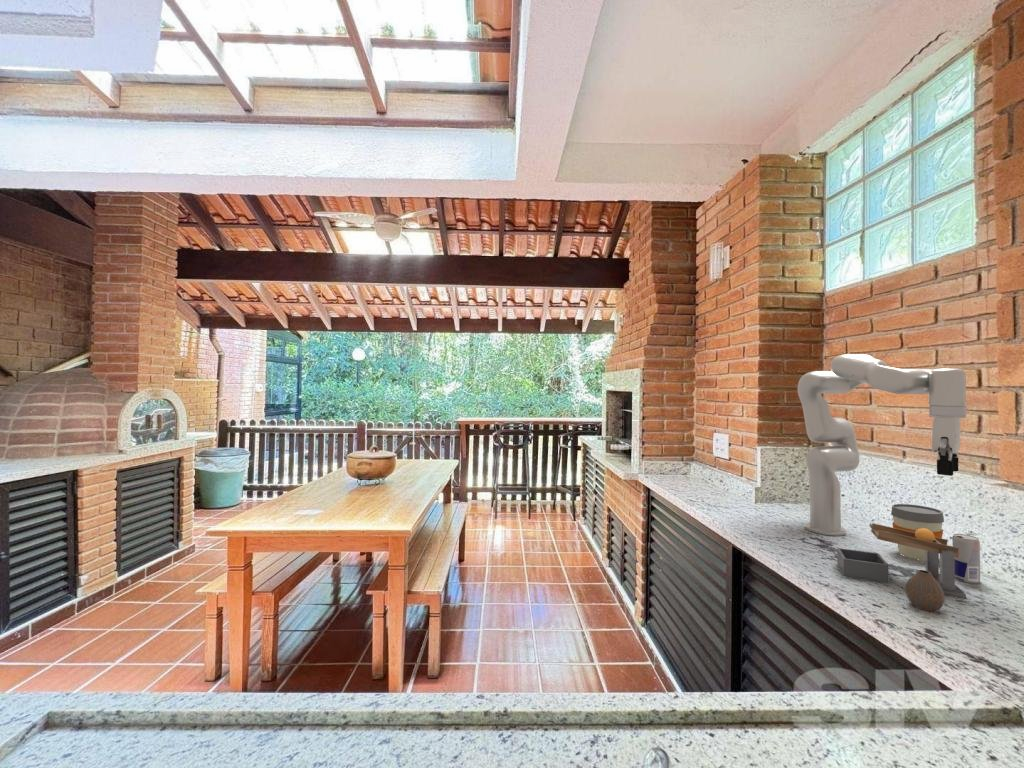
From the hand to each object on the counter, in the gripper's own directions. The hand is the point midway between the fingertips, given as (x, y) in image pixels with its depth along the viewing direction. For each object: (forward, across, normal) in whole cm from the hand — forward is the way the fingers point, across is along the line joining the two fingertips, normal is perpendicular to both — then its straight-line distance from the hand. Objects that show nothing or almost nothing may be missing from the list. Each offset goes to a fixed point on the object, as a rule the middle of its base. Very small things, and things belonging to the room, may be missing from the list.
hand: (947, 472), depth 126 cm
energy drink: (+30, -2, +3) cm, 30 cm away
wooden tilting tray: (+20, +8, -8) cm, 22 cm away
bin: (+30, +15, -16) cm, 37 cm away
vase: (+30, +28, -1) cm, 41 cm away
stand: (+30, +9, -1) cm, 31 cm away
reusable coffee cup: (+30, -15, -9) cm, 35 cm away
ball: (+17, +10, -4) cm, 20 cm away
